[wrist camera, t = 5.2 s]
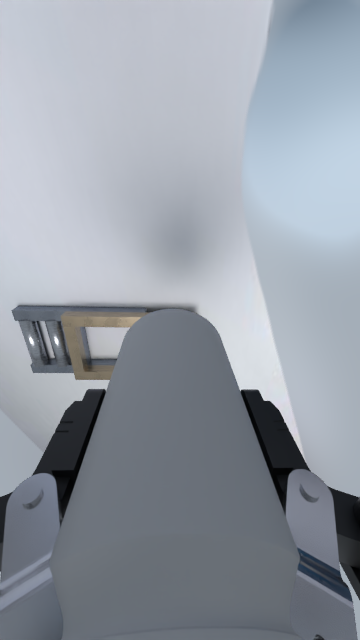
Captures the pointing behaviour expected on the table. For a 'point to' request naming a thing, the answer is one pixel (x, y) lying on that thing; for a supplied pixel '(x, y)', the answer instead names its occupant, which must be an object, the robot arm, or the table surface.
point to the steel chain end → (56, 336)
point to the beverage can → (174, 503)
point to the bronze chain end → (75, 342)
